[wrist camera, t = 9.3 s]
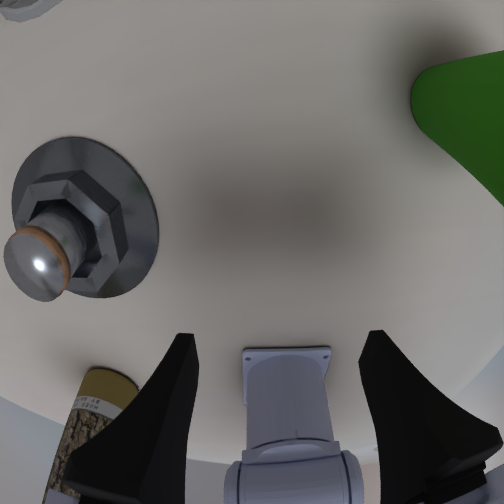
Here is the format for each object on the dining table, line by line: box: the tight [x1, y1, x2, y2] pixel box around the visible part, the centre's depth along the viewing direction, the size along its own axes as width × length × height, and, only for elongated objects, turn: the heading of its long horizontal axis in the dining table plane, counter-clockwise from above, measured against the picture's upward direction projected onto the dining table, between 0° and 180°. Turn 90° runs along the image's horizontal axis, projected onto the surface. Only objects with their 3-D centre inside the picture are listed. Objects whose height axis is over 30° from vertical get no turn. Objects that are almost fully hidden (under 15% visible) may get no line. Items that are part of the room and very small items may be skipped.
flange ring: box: [12, 137, 159, 298], centre depth 19 cm, size 13×13×2 cm
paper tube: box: [42, 369, 138, 504], centre depth 20 cm, size 7×7×25 cm
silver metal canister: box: [4, 198, 98, 302], centre depth 17 cm, size 5×5×6 cm
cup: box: [411, 50, 504, 207], centre depth 11 cm, size 9×9×11 cm
